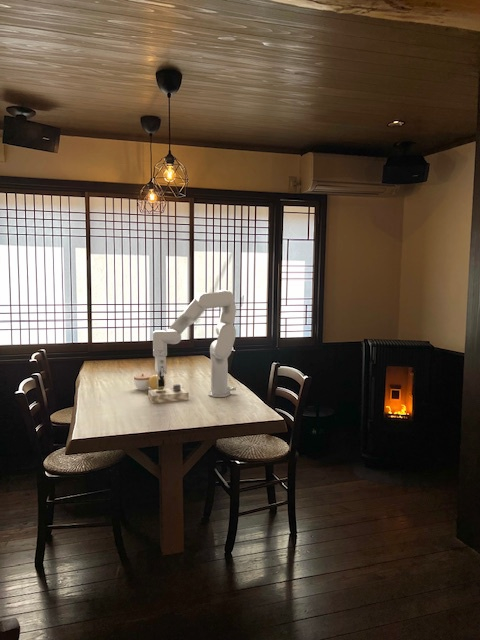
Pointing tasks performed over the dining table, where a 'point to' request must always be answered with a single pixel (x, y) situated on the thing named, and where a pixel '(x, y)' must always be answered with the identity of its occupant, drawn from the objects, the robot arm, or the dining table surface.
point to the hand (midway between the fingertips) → (160, 385)
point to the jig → (168, 394)
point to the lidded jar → (142, 381)
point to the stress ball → (154, 382)
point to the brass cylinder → (157, 383)
